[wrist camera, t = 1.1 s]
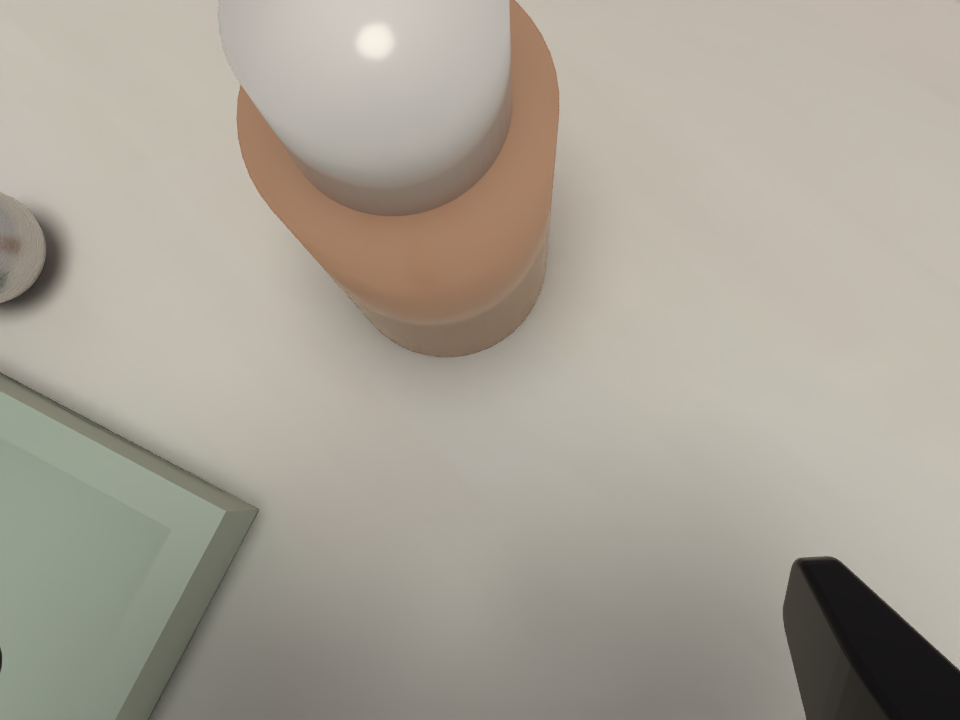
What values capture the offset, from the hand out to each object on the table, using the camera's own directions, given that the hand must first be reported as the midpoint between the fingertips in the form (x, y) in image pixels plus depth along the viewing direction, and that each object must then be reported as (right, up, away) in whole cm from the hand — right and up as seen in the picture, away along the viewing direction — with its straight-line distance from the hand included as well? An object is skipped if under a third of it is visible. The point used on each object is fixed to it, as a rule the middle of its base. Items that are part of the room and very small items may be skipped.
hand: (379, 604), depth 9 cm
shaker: (0, +6, +14) cm, 15 cm away
